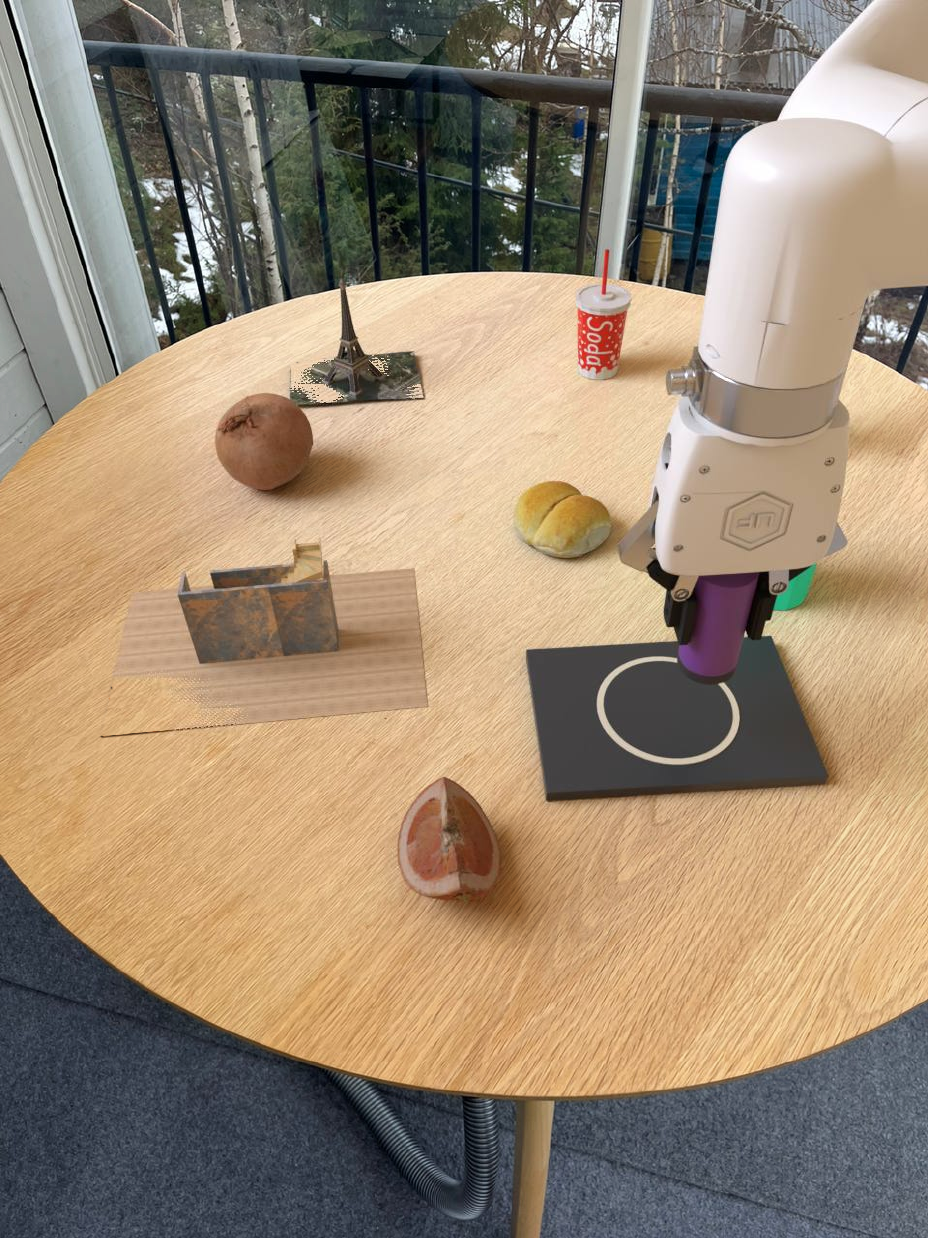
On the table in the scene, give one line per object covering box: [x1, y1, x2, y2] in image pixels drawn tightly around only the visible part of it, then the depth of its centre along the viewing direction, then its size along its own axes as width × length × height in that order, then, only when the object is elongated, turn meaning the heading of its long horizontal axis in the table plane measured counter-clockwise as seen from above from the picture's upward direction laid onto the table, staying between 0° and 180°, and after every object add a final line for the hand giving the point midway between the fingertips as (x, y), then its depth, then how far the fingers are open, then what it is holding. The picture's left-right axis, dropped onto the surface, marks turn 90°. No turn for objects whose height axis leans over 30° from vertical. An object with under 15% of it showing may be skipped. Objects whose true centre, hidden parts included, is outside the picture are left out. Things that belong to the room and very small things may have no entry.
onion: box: [214, 392, 314, 491], centre depth 92 cm, size 10×9×10 cm
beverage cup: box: [574, 248, 633, 381], centre depth 104 cm, size 6×6×14 cm
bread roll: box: [513, 480, 611, 559], centre depth 87 cm, size 8×9×4 cm
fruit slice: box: [396, 776, 502, 903], centre depth 61 cm, size 8×7×5 cm
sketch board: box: [525, 635, 830, 802], centre depth 71 cm, size 20×14×1 cm
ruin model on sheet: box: [112, 536, 428, 731], centre depth 75 cm, size 25×16×10 cm, turn 96°
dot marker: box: [677, 572, 759, 685], centre depth 62 cm, size 4×4×9 cm
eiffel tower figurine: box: [289, 273, 423, 405], centre depth 104 cm, size 15×10×13 cm
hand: (714, 625), depth 62 cm, fingers closed on dot marker, 4 cm apart
